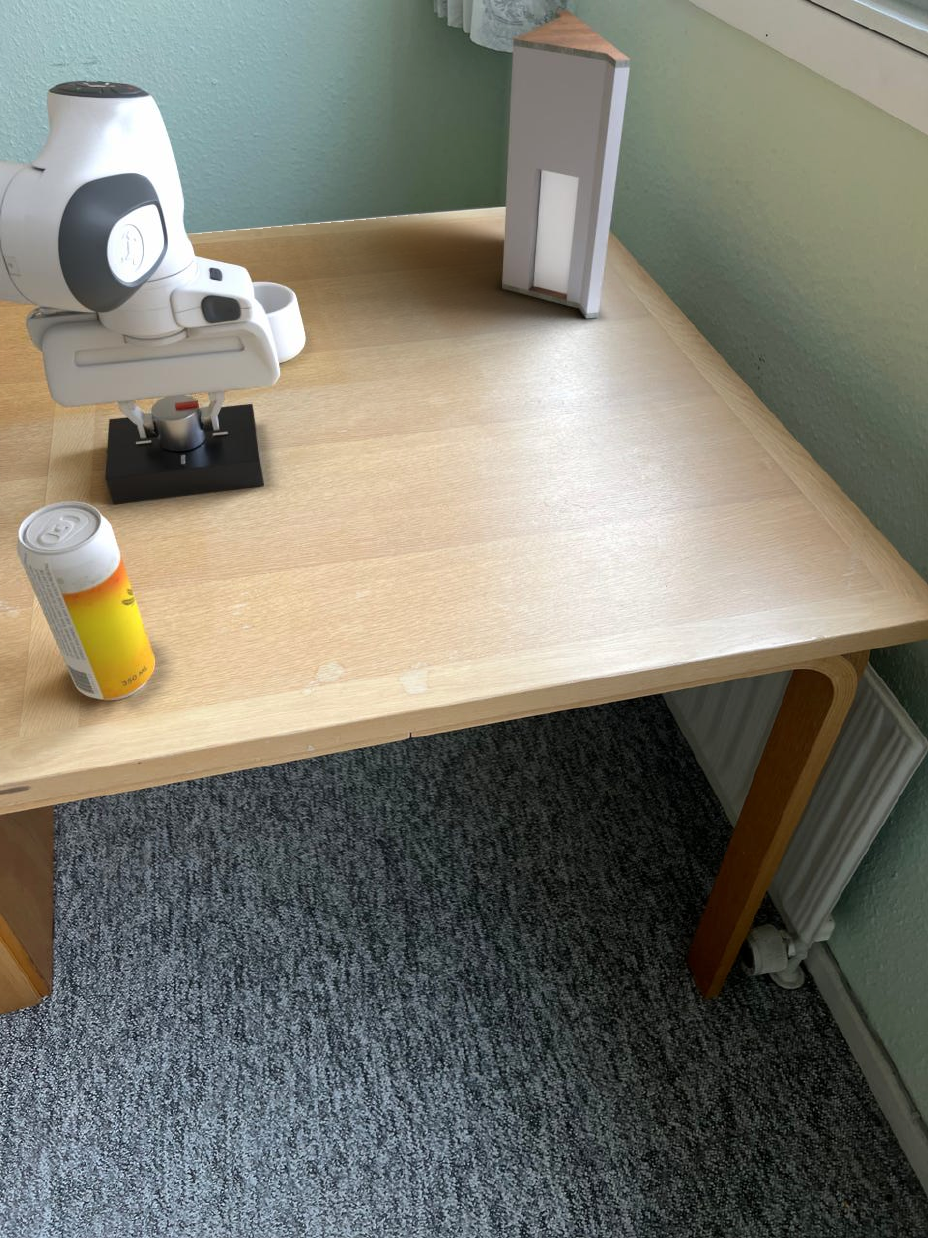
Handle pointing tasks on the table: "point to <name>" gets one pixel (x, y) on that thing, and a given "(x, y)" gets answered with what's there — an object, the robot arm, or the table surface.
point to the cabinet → (562, 161)
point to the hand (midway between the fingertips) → (181, 431)
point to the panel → (184, 460)
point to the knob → (178, 423)
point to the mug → (282, 318)
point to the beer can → (86, 598)
